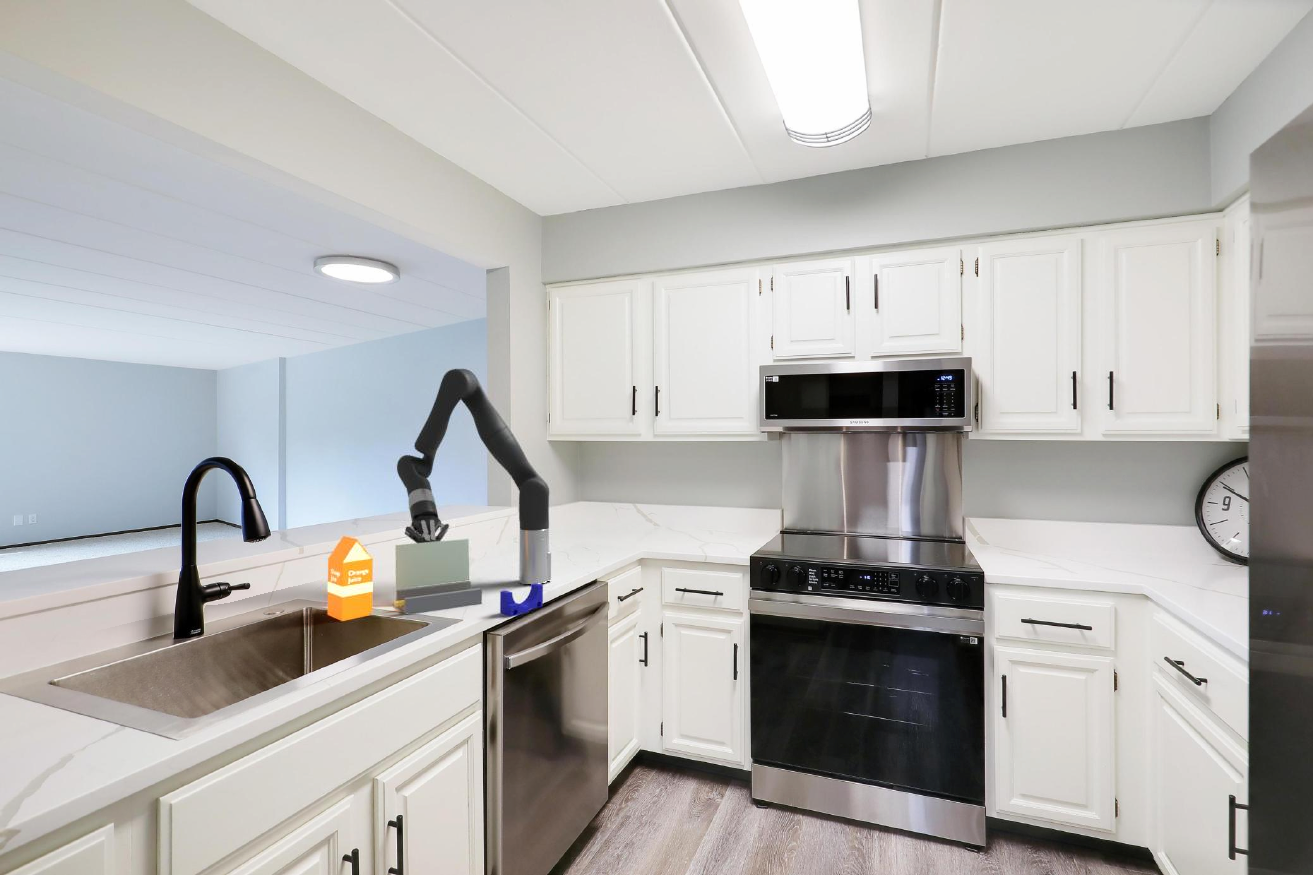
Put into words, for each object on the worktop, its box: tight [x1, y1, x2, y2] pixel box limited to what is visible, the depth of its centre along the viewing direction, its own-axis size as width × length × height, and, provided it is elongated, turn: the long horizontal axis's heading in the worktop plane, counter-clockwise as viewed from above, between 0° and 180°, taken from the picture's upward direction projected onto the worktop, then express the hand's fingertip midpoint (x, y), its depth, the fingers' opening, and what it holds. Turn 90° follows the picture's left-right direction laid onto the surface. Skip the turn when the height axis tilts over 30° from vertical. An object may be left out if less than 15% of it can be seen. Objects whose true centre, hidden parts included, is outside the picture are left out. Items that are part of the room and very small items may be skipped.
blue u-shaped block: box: [499, 583, 544, 618], centre depth 160 cm, size 12×4×6 cm, turn 142°
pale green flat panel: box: [395, 538, 470, 590], centre depth 172 cm, size 20×12×1 cm
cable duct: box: [393, 580, 483, 614], centre depth 166 cm, size 23×12×4 cm, turn 124°
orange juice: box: [327, 535, 374, 622], centre depth 155 cm, size 8×9×20 cm
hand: (432, 553), depth 173 cm, fingers closed
